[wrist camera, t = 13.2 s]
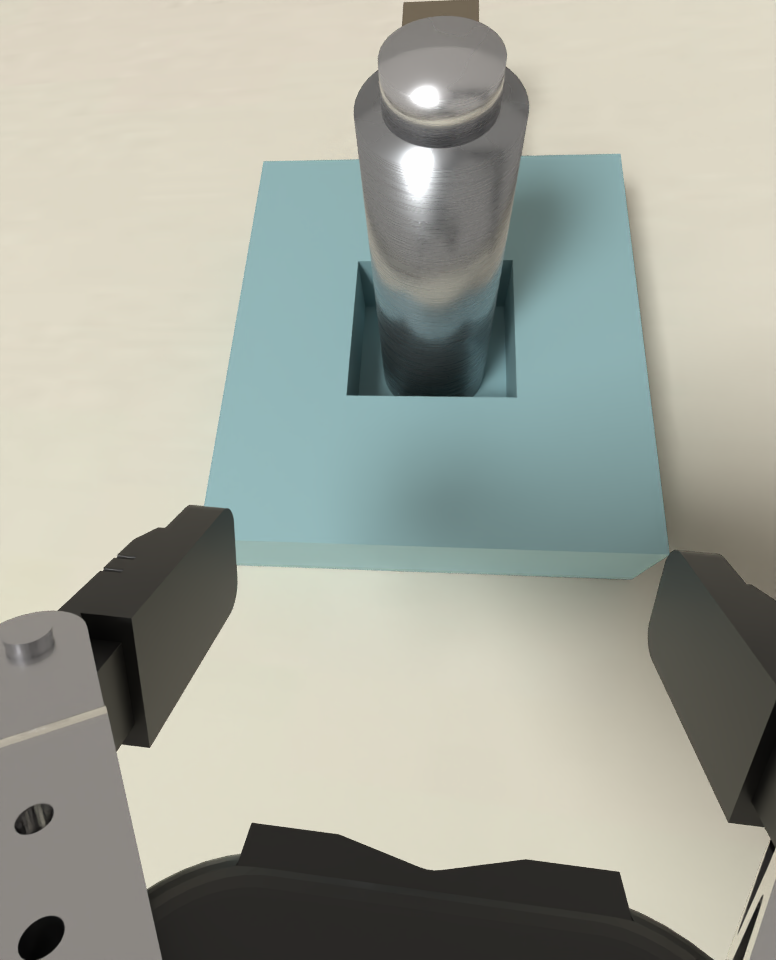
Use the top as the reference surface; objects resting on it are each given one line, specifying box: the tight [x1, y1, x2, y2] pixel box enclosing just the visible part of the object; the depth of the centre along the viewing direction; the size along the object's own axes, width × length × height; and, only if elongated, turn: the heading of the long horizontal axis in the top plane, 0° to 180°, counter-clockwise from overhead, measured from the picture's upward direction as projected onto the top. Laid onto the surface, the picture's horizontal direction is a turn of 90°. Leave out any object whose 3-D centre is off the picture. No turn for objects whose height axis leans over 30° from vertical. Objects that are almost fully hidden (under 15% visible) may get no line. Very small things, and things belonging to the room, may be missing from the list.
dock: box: [204, 154, 670, 579], centre depth 25 cm, size 16×18×4 cm
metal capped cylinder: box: [354, 16, 529, 397], centre depth 20 cm, size 4×4×13 cm
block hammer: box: [402, 0, 479, 26], centre depth 25 cm, size 3×8×3 cm, turn 177°
